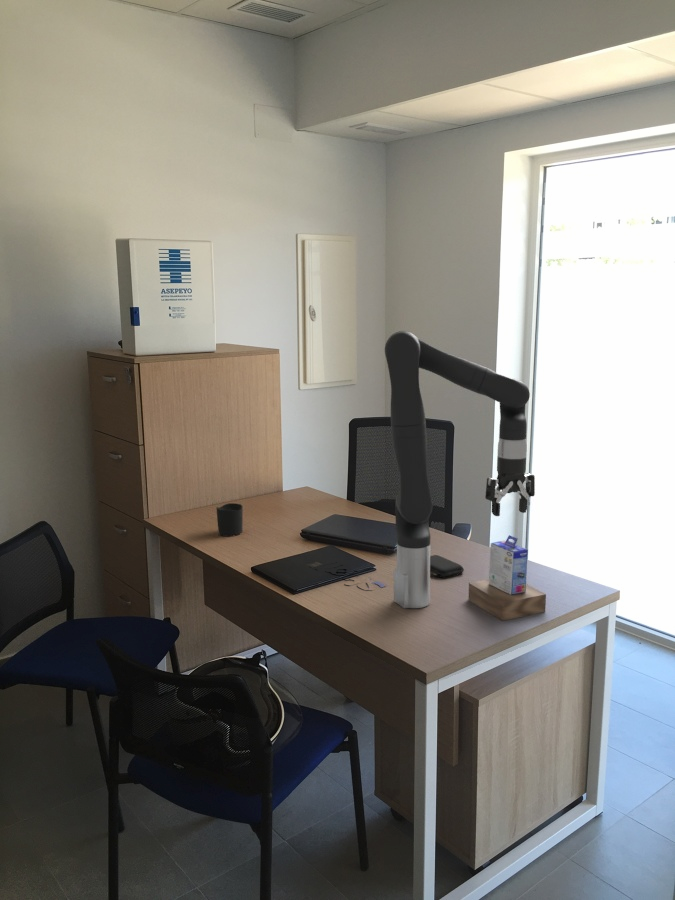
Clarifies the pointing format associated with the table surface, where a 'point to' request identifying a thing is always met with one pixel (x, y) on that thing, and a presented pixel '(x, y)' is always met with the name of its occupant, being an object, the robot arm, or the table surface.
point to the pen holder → (230, 519)
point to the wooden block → (506, 600)
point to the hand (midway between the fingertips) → (509, 513)
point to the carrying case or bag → (444, 567)
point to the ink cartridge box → (508, 566)
